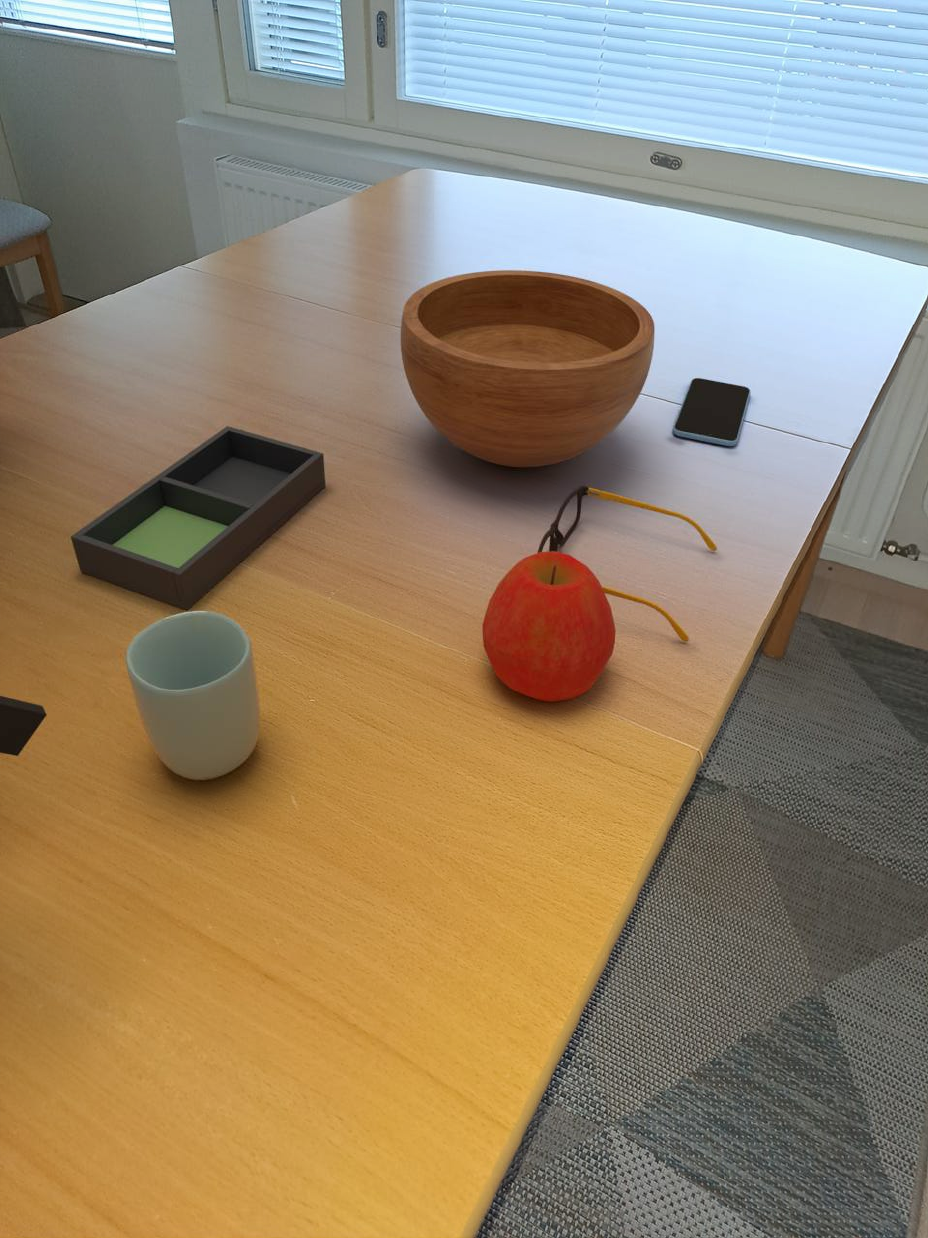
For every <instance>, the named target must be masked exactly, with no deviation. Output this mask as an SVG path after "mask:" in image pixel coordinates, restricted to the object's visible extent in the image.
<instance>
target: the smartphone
mask: <svg viewBox="0 0 928 1238" xmlns="http://www.w3.org/2000/svg"><path fill="white" fill-rule="evenodd" d="M751 393H752V392H751V389H750V388H749V387H747V386H744V385H739V384H734V383H728V382H723V381H717V380H712V379H708V378H707V379H706V378H701V377H695V378H693V379H691V381H690V383H689V385H688V387H687V389H686V393H685V395H684V398H683V401H682V403H681V405H680V408H679V409H678V411H677V414H676V417H675V419H674V422H673V426H672V434H674V435H675V436H678V437H681V438H686V439H691V440H695V441H701V442H706V443H710V444H715V445H721V446H726V447H733V446H736V445H737V444H738V442H739V438H740V434H741V431H742V426H743V423H744V419H745V416H746V411H747V408H748V404H749V400H750V396H751Z"/></svg>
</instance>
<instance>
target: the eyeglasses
mask: <svg viewBox="0 0 928 1238" xmlns="http://www.w3.org/2000/svg"><path fill="white" fill-rule="evenodd" d="M575 496H576V501H577V502H576V514H575V519H574V522H573V523H572V525H571V526H570V528H569V529H568V530H567V532H566V533H565V535H563V533H562V532H561V531H560V529H559V523H560V520H561V518H562V516H563V514H564V511H565V509H566V507H567V505H568V504H569V503H570V501H571V500H572V499H573V498H574V497H575ZM585 496H589V497H592V498H597V499H601V500H604V501H609V502H610V501H612V502H614V503H615V502H616V503H619V504H624V505H628V506H631V507H634V508H640V509H643V510H647V511H652V512H654V513H655V512H656V513H659V514H663V515H667V516H671V517H675V518H678V519H681V520H683V521H684V522H686V523H688V524H689V525H691V526H692V527H693V528H694V529H696V531H697V532H698V533H699V535H700V537H701V538H702V540H703V541H704V543H705V545H706V546H707V547H708V549H709V550H710V551H711V552H716V551H717V550H718V547H717V545H716V544H715V542H714V541H713V540H712V539H711V538H710V537H709V535H708V534H707V532H705V530H704V529H703V528H702V527H701V526H700V525H699V524H698V523H697V522H696V521H694V519H692V518H691V517H688V516H687V515H684V514H683V513H679V512H676V511H672V510H669V509H666V508H662V507H659V506H656V505H652V504H648V503H645V502H642V501H638V500H635V499H632V498H628V497H625V496H622V495H619V494H615V493H611V492H608V491H604V490H601V489H600V490H599V489H597V488H592V487H588V486H586V485H581V486H579V487H578V488H576V489H575V490H573V491H572V492H571V493H569V495H568V496H567V497H566V498H565V499H564V500H563V502H562V504H561V505H560V508H559V510H558V512H557V515H556V517H555V519H554V520H553V522H552V523H551V524H550V526H549V529H548V530H547V531H546V532H545V534H544V535H543V537H542V539H541V541H540V544H539V546H538V549H537V553H539V552H543V550H544V547H545V545H546V543H547V541H548V539H549V546H548V552H551V551H555V552H558V549H559V546H563V545H564V544H565V543H566V542H567V540H568V539H569V538H570V536H571V534H572V533H573V531H574V530H575V529H576V527H577V526H578V524H579V522H580V520H581V519H580V518H581V515H582V514H581V513H582V503H583V498H584V497H585ZM601 586H602V589H603V591H604V593H605V595H610V596H613V597H617V598H622V599H624V600H628V601H632V602H636V603H638V604H643V605H645V606H647V607H650V608H652V609H653V610H655V611H657V612H658V613H660V614H661V615H662V616H663V617H664V618H665V619H666V621H668V623H669V624H670V626H671V627H672V628H673V630H674V632H675V633H676V635H677V636H678V638H679V639H680V640H681V641H682V642H685V643H687V642H689V641H690V637H689V635H688V634H687V633H686V631H685V630H684V629H683V628H682V627H681V626H680V625H679V624H678V623H677V621H675V619H674V618H673V617H672V616H671V615H670V614H669V613H668V612H667V611H666V610H665V609H664V608H662V607H661V606H660V605H658V604H657V603H654V602H652V601H650V600H648V599H644V598H641V597H638V596H636V595H635V596H634V595H632V594H628V593H626V592H622V591H620V590H616V589H613V588H610V587H607V586H603V585H601Z"/></svg>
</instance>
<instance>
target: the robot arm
mask: <svg viewBox="0 0 928 1238" xmlns="http://www.w3.org/2000/svg"><path fill="white" fill-rule="evenodd" d="M47 716H48V715H47V712H46V710H45V708H44V706H43V705H41V704H36V703H33V702H28V701H25V700H20V699H16V698H12V697H7V696H4V695H0V754H4V755H10V756H14V757H18V756H19V755H20V754H21V752H22V751H23V749H24V748H25V746H26V745H27V744H28V742H29V741H30V740H31V738H32V737H33V735H34V734H35V732H36V731H37V730H38V728H39V727H40V725H41V724H42V723H43V721H44V720H45V718H46V717H47Z"/></svg>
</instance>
